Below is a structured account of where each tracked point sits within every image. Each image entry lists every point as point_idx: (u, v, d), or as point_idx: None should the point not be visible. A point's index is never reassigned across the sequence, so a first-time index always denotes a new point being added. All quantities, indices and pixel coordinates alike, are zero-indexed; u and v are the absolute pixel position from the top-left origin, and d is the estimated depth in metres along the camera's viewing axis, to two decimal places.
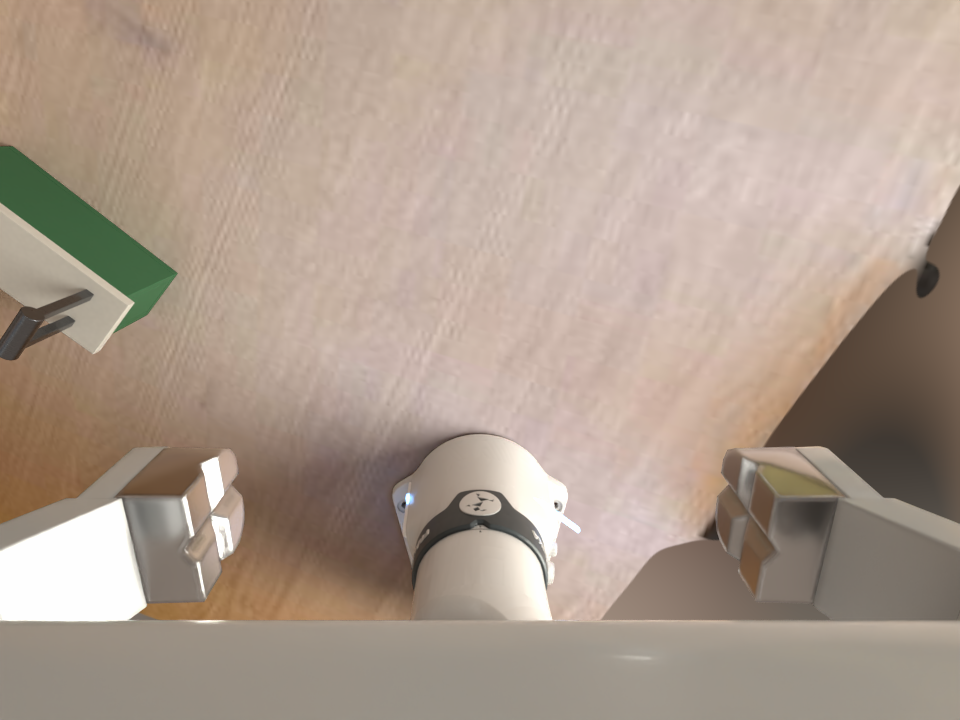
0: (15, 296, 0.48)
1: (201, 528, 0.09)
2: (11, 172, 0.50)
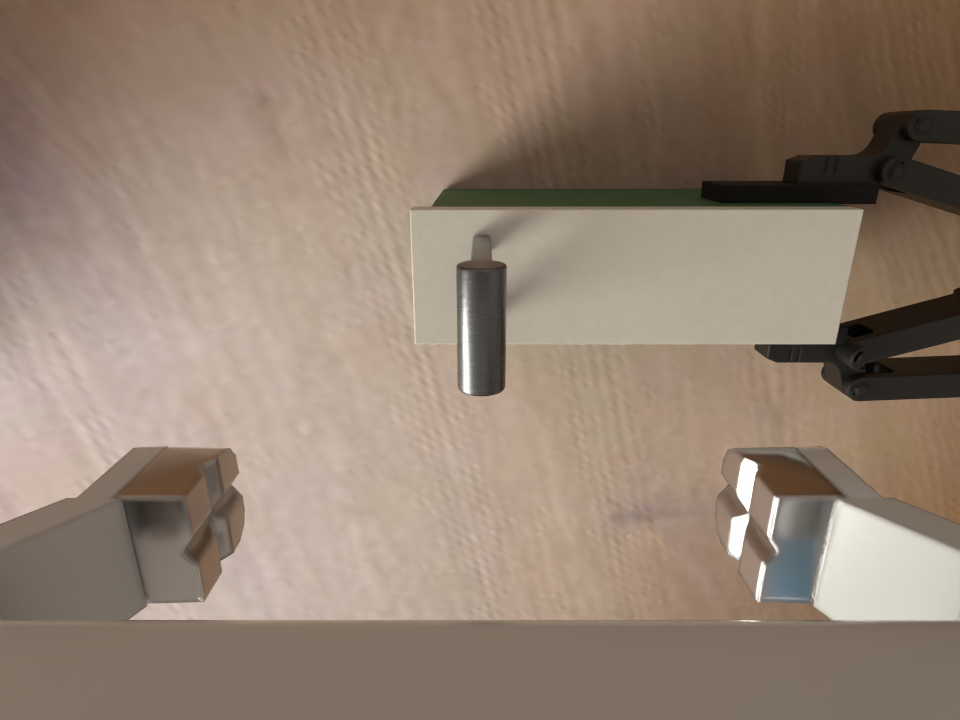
0: (589, 215, 0.24)
1: (201, 528, 0.09)
2: None
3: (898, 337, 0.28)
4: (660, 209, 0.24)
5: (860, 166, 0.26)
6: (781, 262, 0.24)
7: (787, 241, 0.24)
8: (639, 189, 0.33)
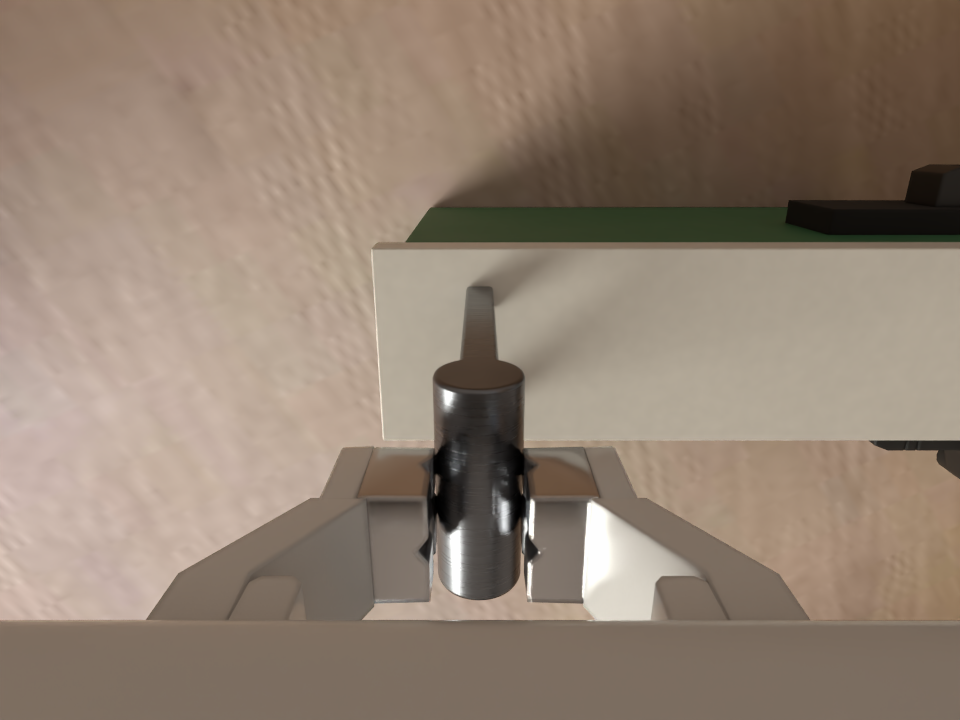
0: (642, 257, 0.16)
1: None
2: None
3: None
4: (749, 248, 0.16)
5: None
6: (926, 326, 0.16)
7: (938, 296, 0.16)
8: (689, 208, 0.25)
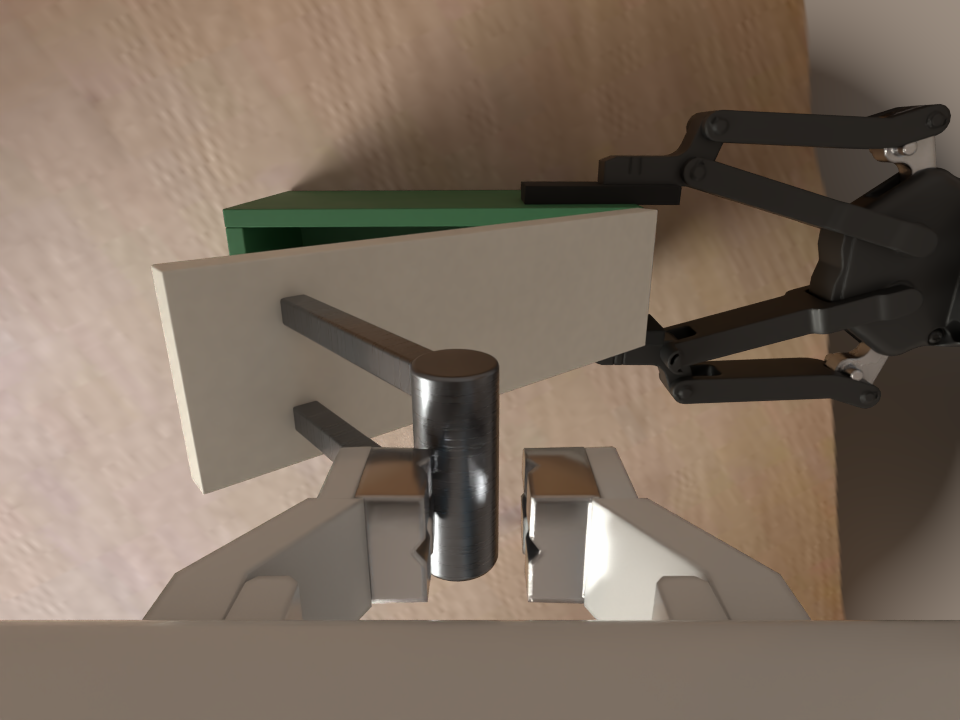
0: (431, 246, 0.17)
1: None
2: None
3: (718, 339, 0.28)
4: (503, 229, 0.19)
5: (664, 167, 0.26)
6: (606, 273, 0.22)
7: (609, 250, 0.22)
8: (483, 190, 0.32)
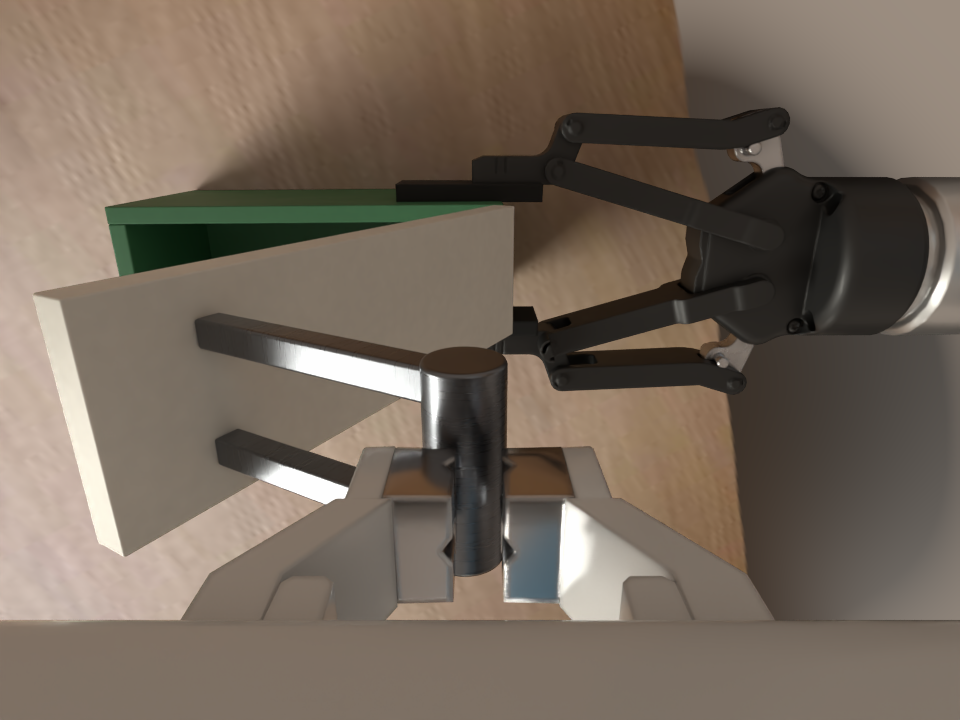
0: (335, 251, 0.17)
1: None
2: None
3: (589, 329, 0.29)
4: (395, 230, 0.19)
5: (528, 166, 0.27)
6: (480, 268, 0.23)
7: (481, 246, 0.23)
8: (380, 189, 0.34)
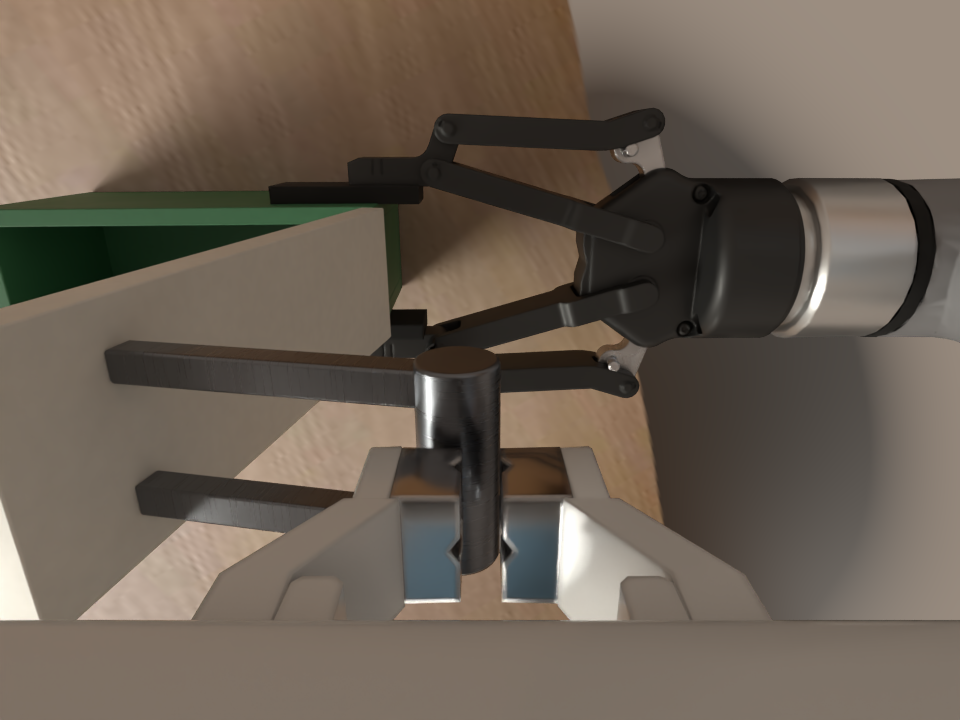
0: (235, 263, 0.15)
1: None
2: None
3: (476, 333, 0.29)
4: (286, 237, 0.18)
5: (405, 168, 0.27)
6: (360, 272, 0.23)
7: (360, 250, 0.23)
8: None
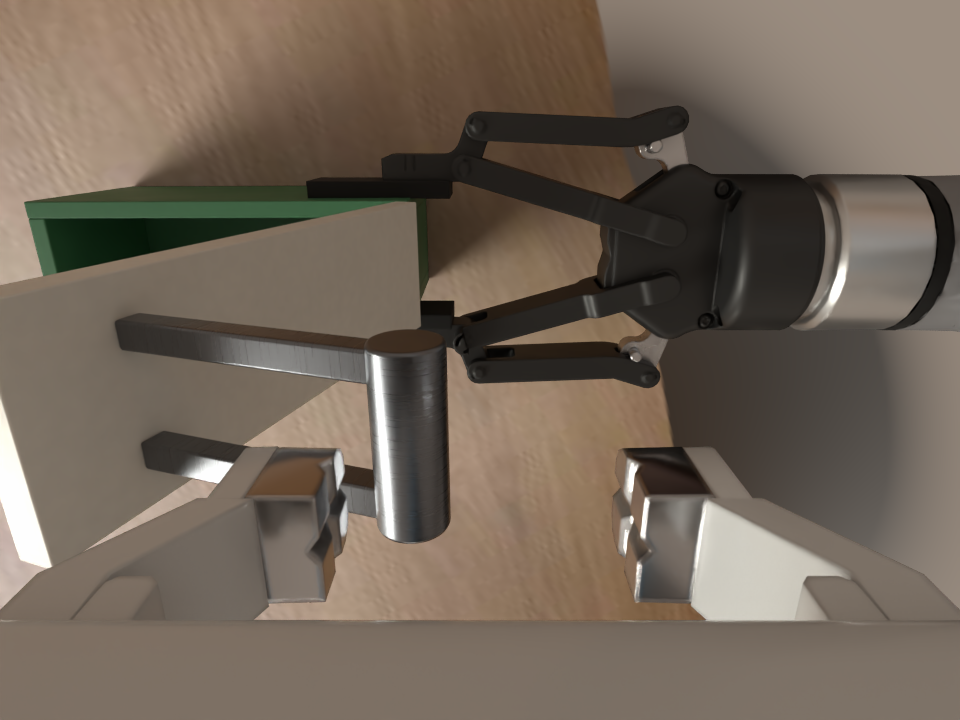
0: (250, 248, 0.17)
1: None
2: None
3: (502, 323, 0.30)
4: (306, 227, 0.19)
5: (436, 163, 0.28)
6: (387, 263, 0.24)
7: (387, 241, 0.24)
8: None
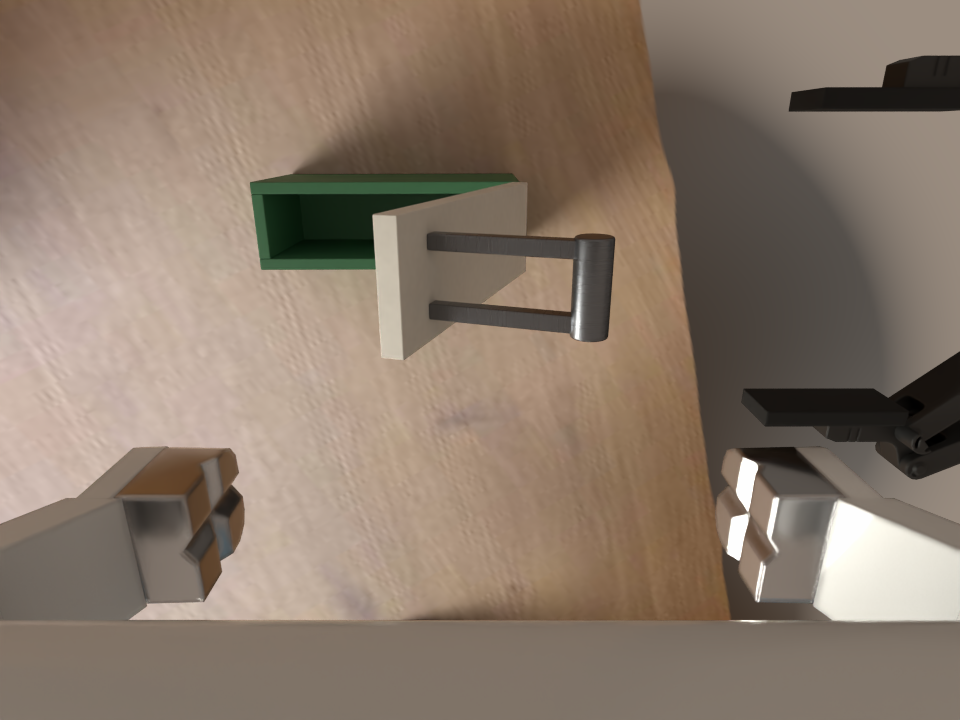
0: (466, 203, 0.28)
1: (201, 528, 0.09)
2: None
3: (951, 406, 0.28)
4: (484, 193, 0.30)
5: None
6: (514, 222, 0.36)
7: (514, 207, 0.35)
8: None
